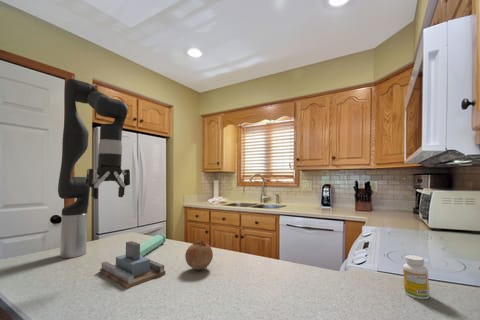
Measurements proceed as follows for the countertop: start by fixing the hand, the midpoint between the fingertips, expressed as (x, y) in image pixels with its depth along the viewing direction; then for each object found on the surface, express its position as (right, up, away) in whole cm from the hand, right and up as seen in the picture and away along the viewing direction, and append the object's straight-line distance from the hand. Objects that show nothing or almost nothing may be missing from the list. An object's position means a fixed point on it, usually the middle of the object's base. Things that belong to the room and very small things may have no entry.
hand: (108, 198), depth 87 cm
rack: (+11, -25, -5) cm, 27 cm away
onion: (+33, -25, -3) cm, 41 cm away
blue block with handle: (+11, -24, -5) cm, 27 cm away
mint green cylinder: (+7, -27, +19) cm, 34 cm away
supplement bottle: (+95, -22, -23) cm, 100 cm away
